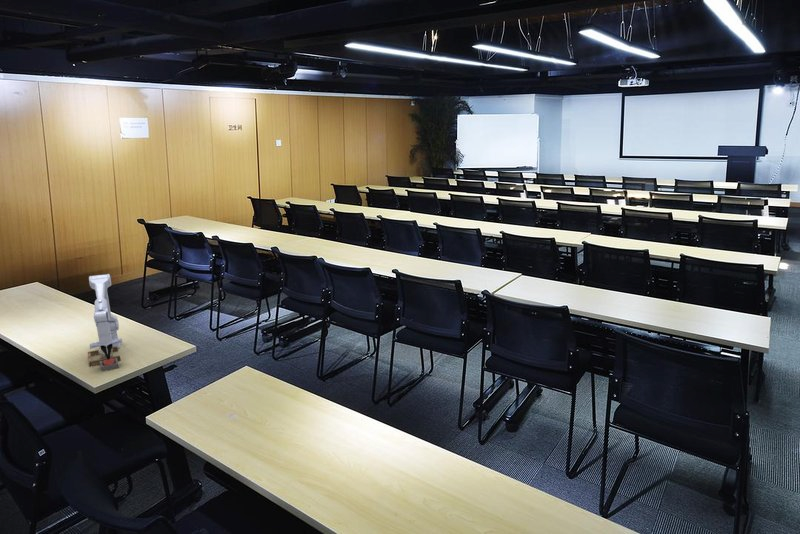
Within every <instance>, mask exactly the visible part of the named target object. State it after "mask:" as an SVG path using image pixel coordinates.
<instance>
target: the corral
mask: <svg viewBox="0 0 800 534" xmlns="http://www.w3.org/2000/svg"><path fill="white" fill-rule="evenodd" d="M112 349H114V350H113V353H115V352H116V353H117V352H118V351H119V348H118V347H117V346H116V347H112ZM98 351H99V349H96V350H91V351H87V356H88V364H89V367H90V368H91V366H92V367H97V366H100V361H104V360H106V359H107V358H104V359H102V358H100V359H96V360H95V359H94V360H92V357H96V356H100V355H99V354H98V353H97V352H98ZM95 355H96V356H95ZM110 358H111V359H113V358H117V360H118V362H121V361H122V359H121V355H116V356H112V357H110ZM96 365H97V366H96Z"/></svg>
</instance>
